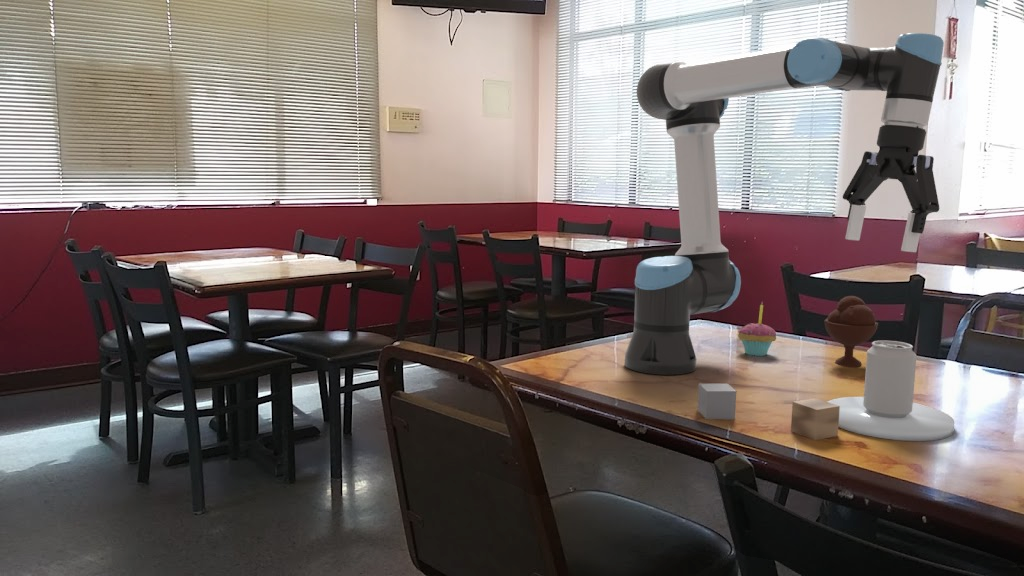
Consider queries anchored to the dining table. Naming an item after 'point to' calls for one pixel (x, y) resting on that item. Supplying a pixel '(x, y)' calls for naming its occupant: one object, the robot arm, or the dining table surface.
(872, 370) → the can
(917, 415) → the plate
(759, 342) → the cupcake
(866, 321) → the ice cream bowl
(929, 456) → the dining table surface
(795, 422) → the wooden cube
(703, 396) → the gray block
